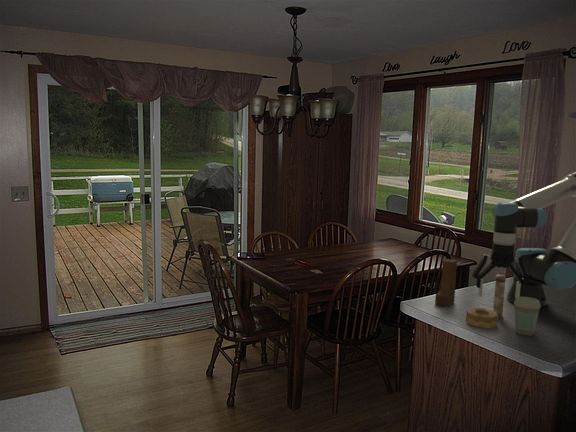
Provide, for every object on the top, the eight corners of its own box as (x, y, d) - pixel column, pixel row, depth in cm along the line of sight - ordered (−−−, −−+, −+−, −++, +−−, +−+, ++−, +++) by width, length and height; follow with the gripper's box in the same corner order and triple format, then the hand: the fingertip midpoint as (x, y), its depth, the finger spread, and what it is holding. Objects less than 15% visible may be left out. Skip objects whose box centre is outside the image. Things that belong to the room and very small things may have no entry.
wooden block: (445, 307, 195) (448, 264, 192) (434, 304, 198) (437, 262, 195) (454, 302, 201) (457, 260, 198) (444, 299, 204) (447, 258, 202)
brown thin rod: (470, 308, 194) (470, 307, 194) (473, 308, 194) (473, 307, 194) (476, 317, 183) (476, 316, 183) (480, 317, 183) (480, 316, 183)
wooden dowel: (501, 314, 187) (504, 274, 185) (503, 317, 184) (507, 277, 182) (491, 313, 188) (494, 274, 185) (493, 317, 184) (497, 276, 182)
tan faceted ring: (491, 318, 182) (492, 308, 182) (499, 328, 173) (500, 317, 172) (464, 316, 184) (465, 306, 183) (470, 326, 174) (470, 315, 174)
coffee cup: (536, 339, 164) (540, 305, 162) (509, 333, 168) (512, 300, 166) (539, 331, 171) (542, 298, 169) (512, 326, 175) (515, 294, 174)
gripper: (535, 243, 183) (529, 296, 186) (467, 239, 187) (462, 291, 190) (542, 247, 176) (536, 302, 179) (471, 243, 180) (466, 297, 183)
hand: (498, 297), depth 185 cm, fingers open, 13 cm apart
